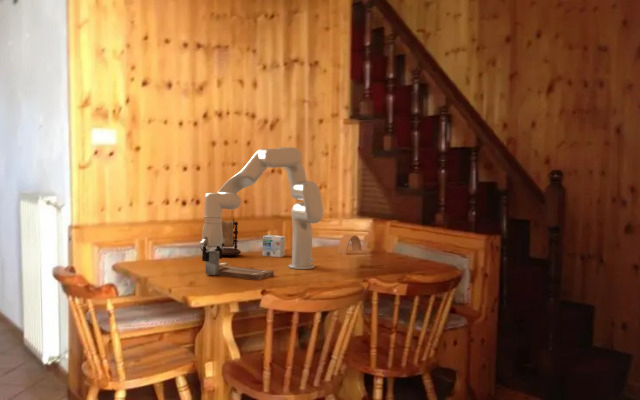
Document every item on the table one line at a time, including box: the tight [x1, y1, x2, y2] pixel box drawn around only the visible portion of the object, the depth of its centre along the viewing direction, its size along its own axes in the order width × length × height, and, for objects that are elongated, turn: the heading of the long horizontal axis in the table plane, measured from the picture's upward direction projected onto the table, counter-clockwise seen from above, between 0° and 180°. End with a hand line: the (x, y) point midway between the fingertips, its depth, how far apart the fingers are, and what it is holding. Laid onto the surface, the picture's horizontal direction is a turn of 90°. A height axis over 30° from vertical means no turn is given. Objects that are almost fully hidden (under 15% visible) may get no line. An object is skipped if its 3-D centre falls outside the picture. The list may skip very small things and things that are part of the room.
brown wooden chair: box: [212, 217, 242, 258], centre depth 352 cm, size 15×15×20 cm
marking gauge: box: [204, 249, 229, 276], centre depth 297 cm, size 12×5×10 cm, turn 154°
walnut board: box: [209, 265, 275, 281], centre depth 297 cm, size 14×26×2 cm, turn 64°
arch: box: [336, 234, 362, 255], centre depth 380 cm, size 6×20×10 cm, turn 151°
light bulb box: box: [262, 234, 286, 258], centre depth 357 cm, size 11×7×11 cm, turn 73°
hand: (212, 259), depth 293 cm, fingers open, 9 cm apart
